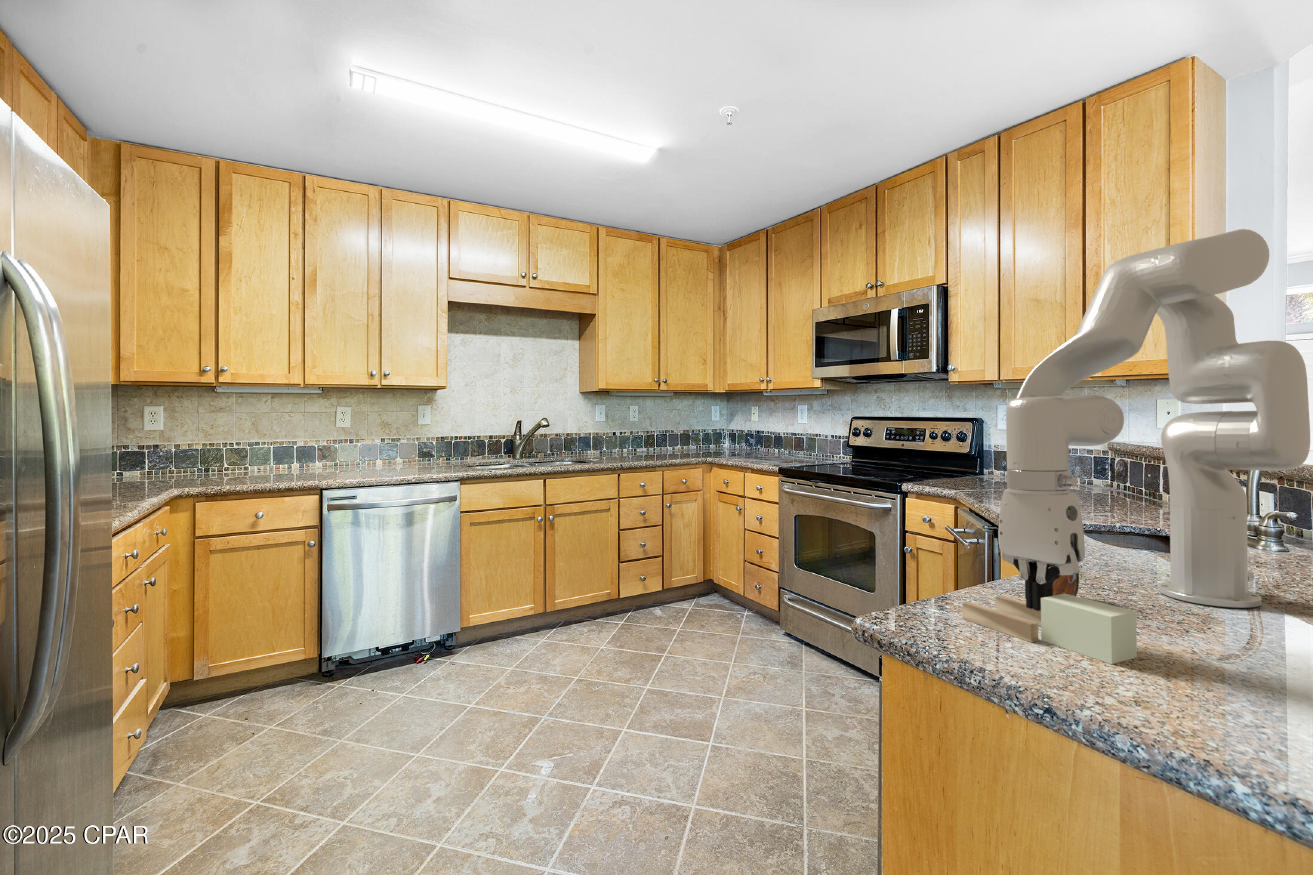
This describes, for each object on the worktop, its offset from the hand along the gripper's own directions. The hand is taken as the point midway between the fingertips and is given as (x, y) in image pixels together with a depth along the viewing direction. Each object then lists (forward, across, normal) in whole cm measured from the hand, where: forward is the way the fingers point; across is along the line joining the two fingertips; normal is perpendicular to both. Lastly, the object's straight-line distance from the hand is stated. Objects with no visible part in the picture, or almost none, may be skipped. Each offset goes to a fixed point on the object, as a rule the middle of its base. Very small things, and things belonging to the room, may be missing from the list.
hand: (1039, 607), depth 84 cm
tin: (+4, +8, -15) cm, 18 cm away
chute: (+4, +4, 0) cm, 5 cm away
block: (+4, -6, 0) cm, 7 cm away
